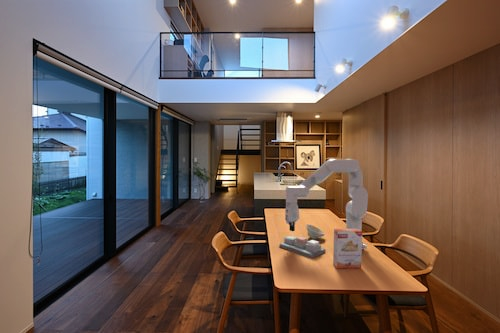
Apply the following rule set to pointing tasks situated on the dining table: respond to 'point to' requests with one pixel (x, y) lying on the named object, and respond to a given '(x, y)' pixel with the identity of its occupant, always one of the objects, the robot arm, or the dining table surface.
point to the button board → (302, 248)
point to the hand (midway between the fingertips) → (292, 230)
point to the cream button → (313, 243)
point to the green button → (291, 237)
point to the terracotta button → (301, 239)
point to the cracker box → (347, 248)
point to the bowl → (314, 232)
